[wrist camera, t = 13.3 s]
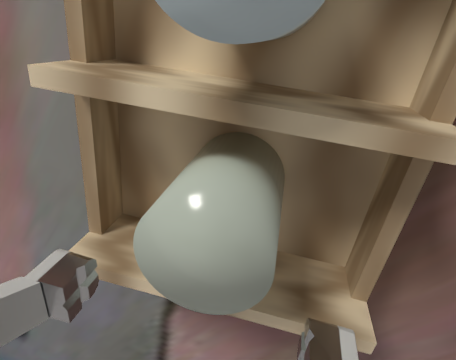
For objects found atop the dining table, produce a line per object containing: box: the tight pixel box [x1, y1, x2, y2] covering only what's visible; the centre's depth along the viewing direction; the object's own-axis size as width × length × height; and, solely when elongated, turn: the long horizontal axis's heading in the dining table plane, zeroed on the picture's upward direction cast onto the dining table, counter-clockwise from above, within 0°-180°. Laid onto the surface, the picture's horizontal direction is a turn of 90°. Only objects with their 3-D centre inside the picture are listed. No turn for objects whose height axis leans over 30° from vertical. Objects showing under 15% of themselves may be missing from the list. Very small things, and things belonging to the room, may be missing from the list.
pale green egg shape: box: [133, 132, 285, 315], centre depth 17 cm, size 6×6×9 cm
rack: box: [27, 0, 456, 355], centre depth 16 cm, size 20×25×7 cm
